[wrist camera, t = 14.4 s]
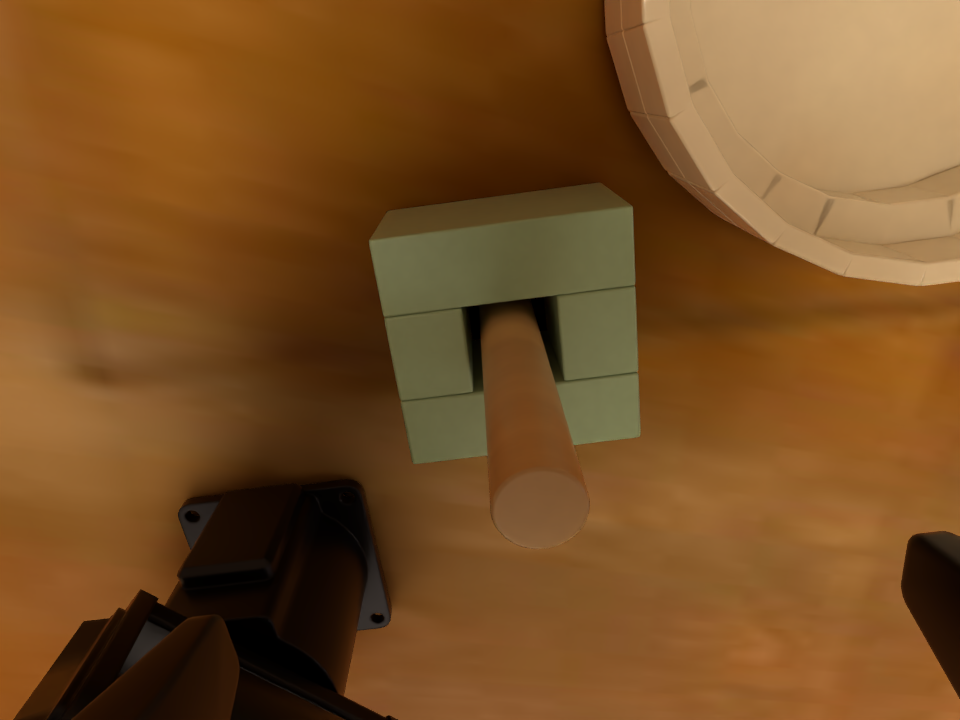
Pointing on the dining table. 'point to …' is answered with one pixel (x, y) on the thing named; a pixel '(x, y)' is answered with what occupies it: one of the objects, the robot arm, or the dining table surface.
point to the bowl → (807, 122)
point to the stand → (508, 277)
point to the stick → (527, 433)
